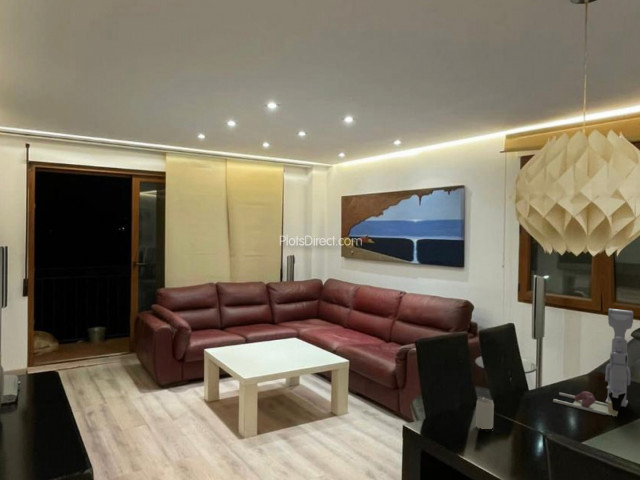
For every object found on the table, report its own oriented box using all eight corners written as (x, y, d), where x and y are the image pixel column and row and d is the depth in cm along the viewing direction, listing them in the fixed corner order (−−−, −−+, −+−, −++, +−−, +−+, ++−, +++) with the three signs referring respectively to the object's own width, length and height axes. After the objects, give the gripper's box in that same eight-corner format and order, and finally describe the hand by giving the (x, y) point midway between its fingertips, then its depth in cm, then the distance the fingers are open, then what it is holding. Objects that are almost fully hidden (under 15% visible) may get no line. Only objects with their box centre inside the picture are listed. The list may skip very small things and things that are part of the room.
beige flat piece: (576, 399, 209) (576, 390, 209) (619, 410, 198) (619, 400, 198) (572, 405, 201) (572, 396, 201) (616, 416, 190) (616, 406, 190)
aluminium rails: (559, 394, 215) (559, 392, 215) (610, 406, 201) (610, 404, 201) (553, 402, 205) (553, 399, 205) (606, 415, 191) (606, 412, 191)
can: (492, 427, 175) (493, 397, 175) (493, 434, 169) (494, 403, 169) (475, 424, 178) (476, 395, 177) (475, 431, 171) (476, 400, 171)
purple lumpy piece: (590, 412, 197) (599, 399, 196) (581, 406, 198) (589, 393, 197) (582, 403, 207) (589, 391, 206) (572, 398, 207) (580, 386, 207)
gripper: (609, 373, 202) (608, 402, 202) (604, 380, 191) (603, 411, 191) (628, 377, 197) (626, 406, 198) (624, 384, 186) (622, 416, 187)
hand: (616, 409), depth 194 cm, fingers closed on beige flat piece, 3 cm apart
